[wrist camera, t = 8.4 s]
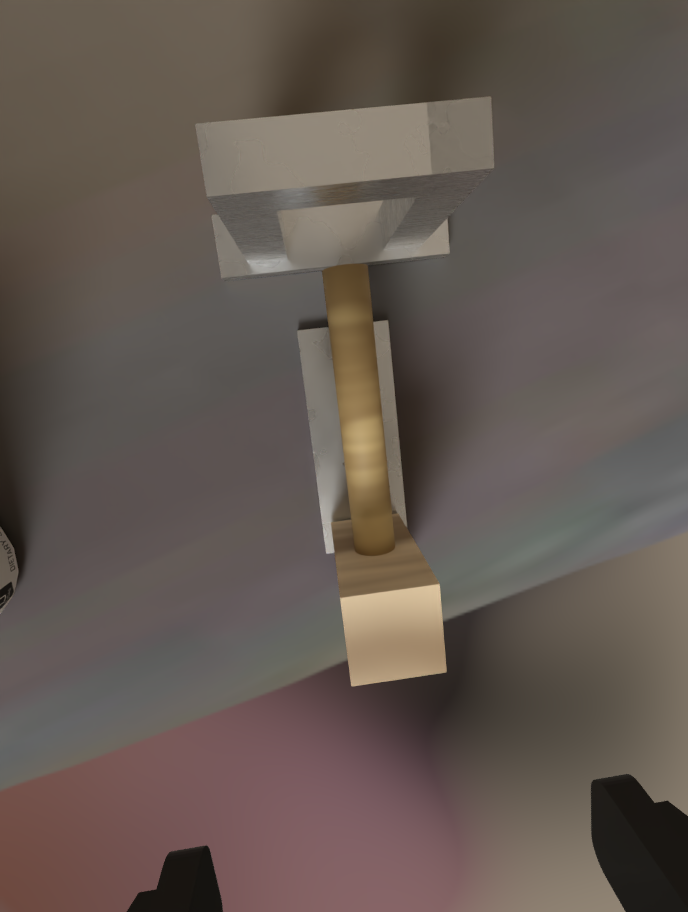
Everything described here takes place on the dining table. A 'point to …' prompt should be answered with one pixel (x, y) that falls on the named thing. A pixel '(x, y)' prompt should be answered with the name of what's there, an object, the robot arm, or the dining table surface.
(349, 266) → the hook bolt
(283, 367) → the dining table surface
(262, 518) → the dining table surface
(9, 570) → the supplement can
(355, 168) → the white stand
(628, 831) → the robot arm
